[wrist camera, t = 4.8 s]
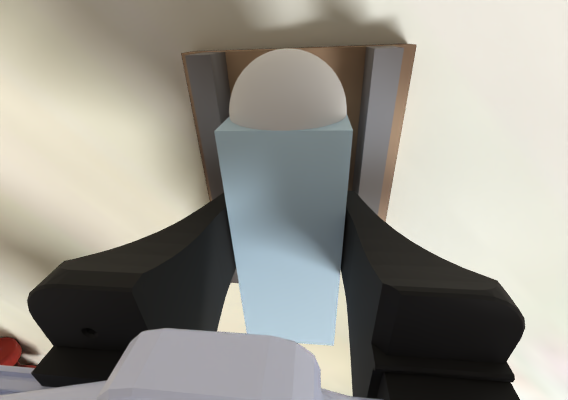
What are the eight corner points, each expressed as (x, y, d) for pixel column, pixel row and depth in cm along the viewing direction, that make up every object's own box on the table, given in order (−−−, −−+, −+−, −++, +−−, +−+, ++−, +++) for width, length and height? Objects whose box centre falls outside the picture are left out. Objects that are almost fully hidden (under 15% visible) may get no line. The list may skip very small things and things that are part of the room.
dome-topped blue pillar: (330, 280, 16) (333, 345, 13) (261, 276, 17) (247, 339, 13) (345, 43, 10) (360, 49, 7) (238, 47, 11) (201, 55, 7)
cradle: (374, 252, 19) (384, 290, 16) (225, 246, 20) (211, 281, 17) (408, 43, 13) (434, 46, 10) (191, 51, 14) (159, 56, 11)
